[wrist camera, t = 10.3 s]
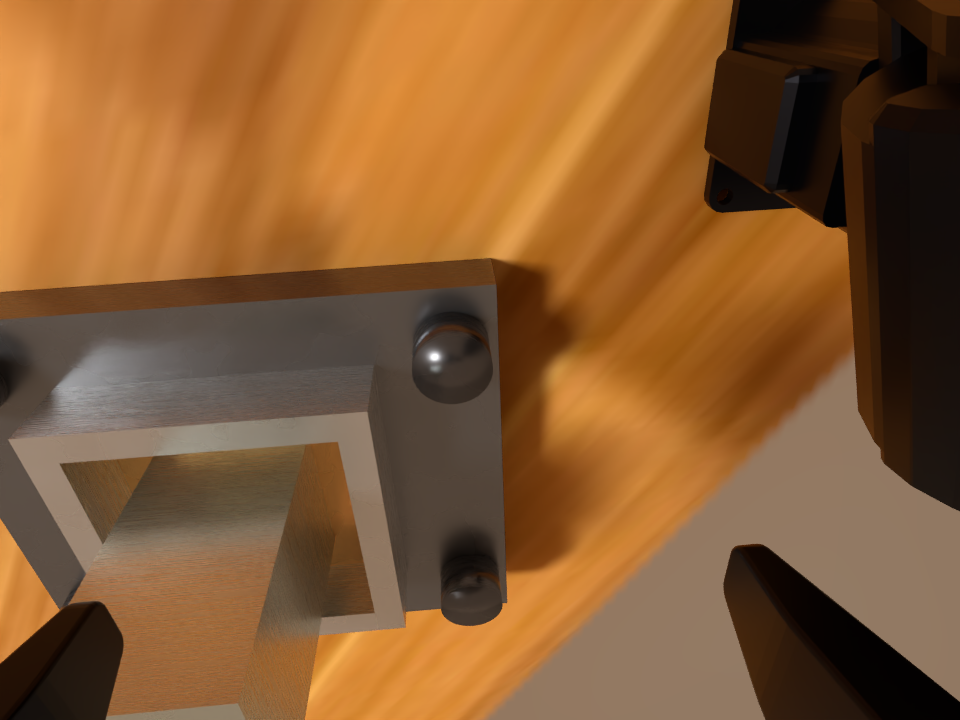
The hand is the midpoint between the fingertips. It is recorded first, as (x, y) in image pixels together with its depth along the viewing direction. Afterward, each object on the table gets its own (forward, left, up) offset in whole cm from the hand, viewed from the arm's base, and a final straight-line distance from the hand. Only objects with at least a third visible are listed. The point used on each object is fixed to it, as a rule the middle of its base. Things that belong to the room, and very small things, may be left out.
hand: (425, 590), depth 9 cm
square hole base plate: (+7, +8, -13) cm, 17 cm away
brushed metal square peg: (+7, +8, -11) cm, 15 cm away
